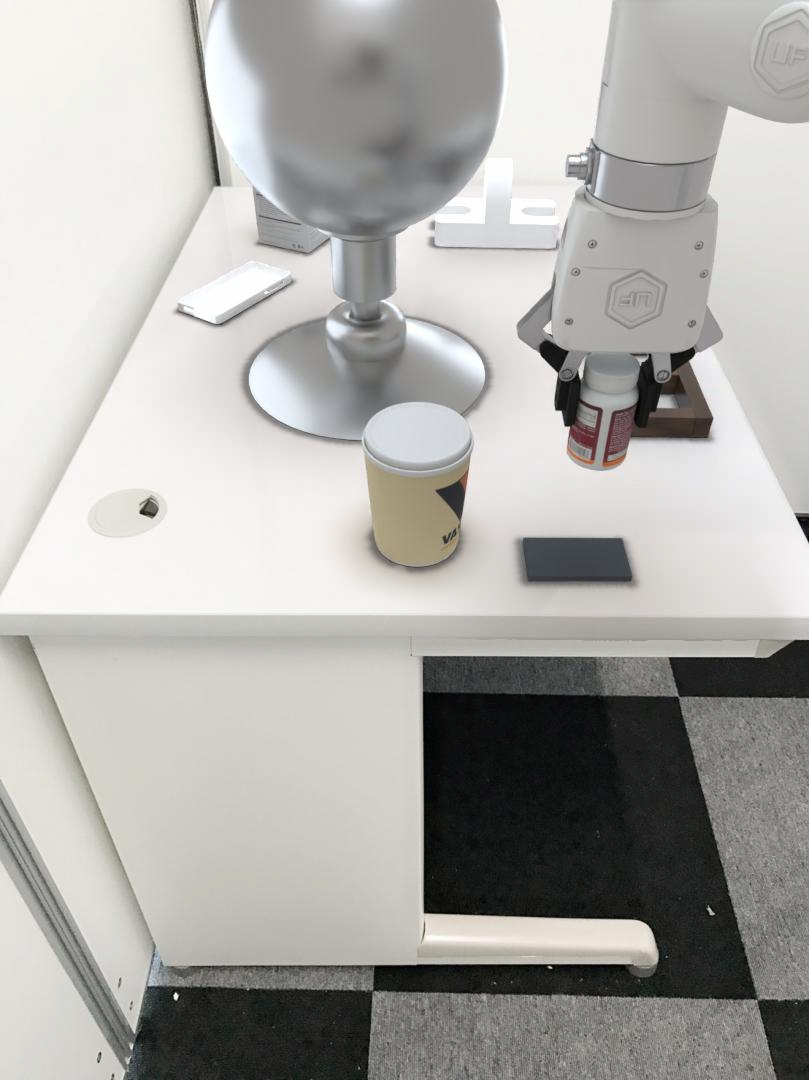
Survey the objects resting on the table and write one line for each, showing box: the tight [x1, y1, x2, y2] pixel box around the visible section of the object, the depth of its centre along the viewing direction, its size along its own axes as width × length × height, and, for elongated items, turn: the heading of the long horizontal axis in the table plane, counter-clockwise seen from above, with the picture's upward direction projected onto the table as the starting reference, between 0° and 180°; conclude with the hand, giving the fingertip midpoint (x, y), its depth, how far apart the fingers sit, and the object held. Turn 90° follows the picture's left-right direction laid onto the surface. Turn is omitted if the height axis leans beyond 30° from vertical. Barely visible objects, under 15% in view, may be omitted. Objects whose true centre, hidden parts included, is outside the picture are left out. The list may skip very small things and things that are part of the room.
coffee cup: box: [361, 402, 475, 568], centre depth 74 cm, size 9×9×12 cm
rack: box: [589, 353, 714, 438], centre depth 96 cm, size 10×19×2 cm, turn 178°
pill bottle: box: [566, 353, 641, 472], centre depth 65 cm, size 5×5×8 cm
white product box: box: [251, 184, 330, 254], centre depth 123 cm, size 9×9×15 cm
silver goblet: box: [204, 0, 509, 441], centre depth 85 cm, size 28×28×45 cm
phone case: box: [177, 260, 292, 325], centre depth 113 cm, size 7×1×15 cm
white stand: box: [434, 158, 560, 250], centre depth 125 cm, size 10×18×11 cm, turn 87°
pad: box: [522, 537, 633, 582], centre depth 76 cm, size 9×5×1 cm, turn 89°
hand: (602, 415), depth 65 cm, fingers closed on pill bottle, 4 cm apart
